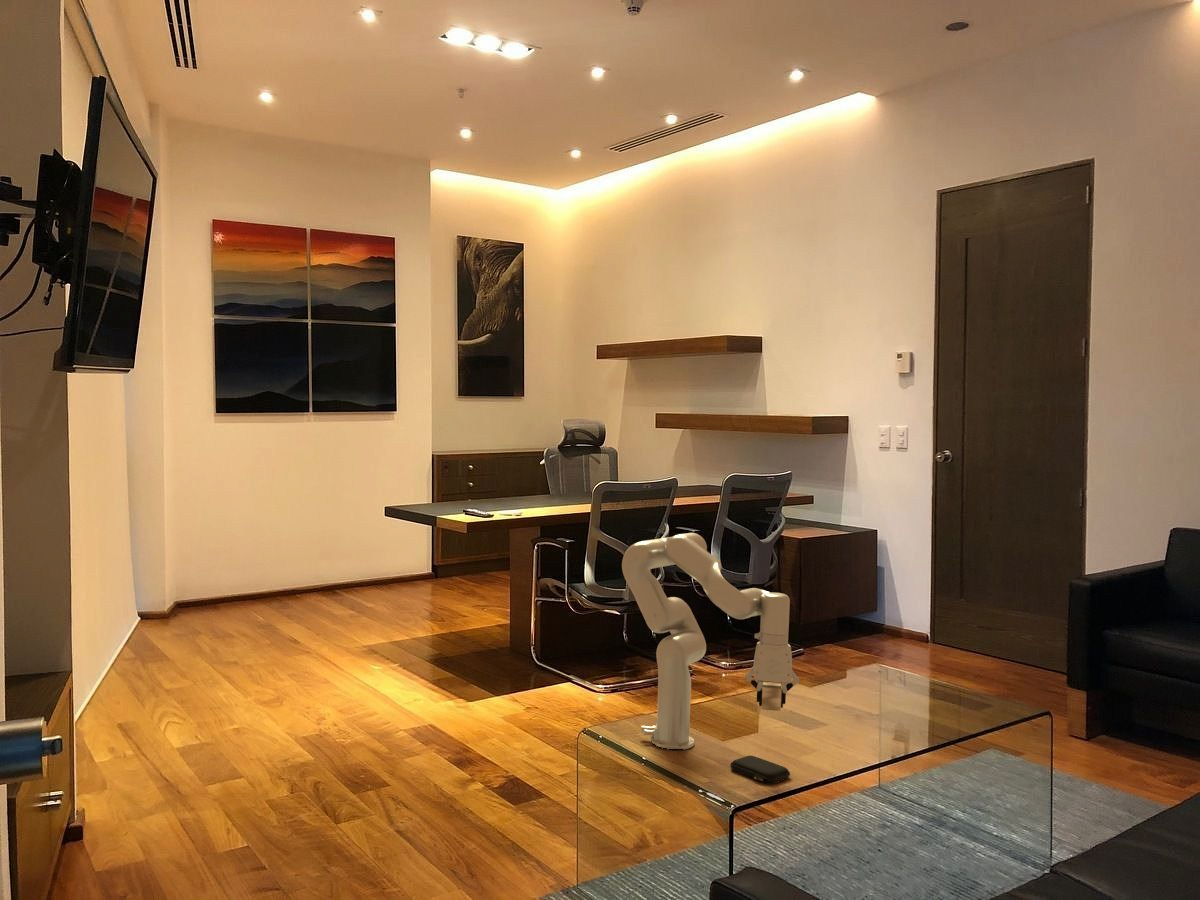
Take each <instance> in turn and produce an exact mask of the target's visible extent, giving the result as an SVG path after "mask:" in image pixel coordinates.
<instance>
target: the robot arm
mask: <svg viewBox="0 0 1200 900" xmlns="http://www.w3.org/2000/svg"><path fill="white" fill-rule="evenodd" d="M706 542H707V541H705V539H704V537H703V536H701V535H699V534H698V533H695V532H688V533H678V534H675V535H673V536H669V537H663V538H654V539H647V540H646V539H645V540H641V541H638V542H635V543H633V544H631V545H630V546H629V547H628V548H627V549H626V551H625V552H624V554H623V557H622V561H621V570H622V574H623V577H624V580H625V582H626V583H627V586H628V587H629V589H630V590H631V592H632V594H633V596H634V599H635V601H636V603H637V604H636V605H638V608H639V610H640V612H641V614H642V616H643V619H644V620H645V623H646V625H647V627H648V628H649V629H650V630H651V631H652V632H653V633H655V634H664V633H668V632H669V633H670V635H667V636H666V637H664V638H662V639H661V640H660V642H659V643H658V645H657V648H656V652H655V653H656V656H655V657H656V663H657V671H658V673H657V675H658V676H657V677H658V680H657V681H658V683H657V711H656V713H657V714H656V724H655V725H652V726H648V725H641V730H640V731H641V732H640V733H644V735H647V736H650V742H651V741H652V742H653V743H654V744H656V745H658V746H660V747H663V748H667V749H666V750H669V749H683V750H688V749H691V748H692V747H693V746H694V745H695V739H694V738H693V737H692V736H690V722H691V721H690V720H691V701H692V700H691V699H692V697H691V696H692V679H691V674H690V669H689V665H691V664H694V663H696V662H699V661H701V660H702V659H703V657H704V656H705V654H706V652H707V643H706V639H705V636H704V634H703V632H702V630H701V628H700V626H699V624H698V622H697V619H696V618H695V615H694V614H693V612H692V609H691V608H690V606H689V604H688V603H687V602H685V600H683V599H682V598H680V597H676V596H670V597H667V595H666V593H665V592H664V589H663V587H662V585H661V583H660V582H659V580H658V579H657V577H655V576H654V574H653V573H652V572H651V570H652V569H658V568H663V567H664V568H665V567H668V566H669V567H670V566H674V565H676V566H677V567H678V568H679V569H681V570H682V571H684V572H685V573H686V574H687V575H689V576H690V577H691V578H692V579H694V580H695V581H696V582H698V583H699V584H700V585H701V586H702V589H703V591H704V592H705V594H706V596H707V598H709V600H710V601H711V602H712V603H713V604H714V605H715V606H716V607H718V608H719V609H720V610H722V611H723V612H724V613H725V614H727V615H728V616H730V617H732V618H734V619H736V620H745V619H749V618H751V617H757V616H760V626H759V627H760V628H759V629H760V630H759V632H757V633H754V639H757V640H758V642H756V646H755V650H754V651H755V652H754V657H753V666H751V668H750V669H749V670H748V671H747V672H746V673H745V674H744V678H745V680H746V681H748V682H749V683H750V684H751V685H752V686H753V688H754V689H755V690H756V702H757V703H758V706H759V707H761V706H762V685H763V683H776V684H781V688H782V692H781V709H783V708H784V705H786V701H787V700H786V698H787V693H788V692H789V691H790V690H791V689H792V688H793V687H794V686H796V685H798V684H799V683H800V679H799V677H798V675H796V673H795V671H794V670H793V655H792V647H791V645H790V644H789V628H790V627H789V625H790V604H791V602H790V601H791V599H790V597H789V596H788V595H787V594H786V593H781V592H772V591H771V592H770V591H767V590H765V589H761V588H757V587H752V588H751V587H750V588H745V589H741V590H739V589H737V587H735V586H733V585H732V584H731V583H729V581H727V580H726V579H725V577H723V575H722V573H721V570H722V562H721V561H720V559H719V558H716V557H715V556H714V555H713V554H711V553H710V552H709V551H708V550H707V549H708V546H707V543H706ZM663 748H662V749H663Z"/></svg>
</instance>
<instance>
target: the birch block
mask: <svg viewBox="0 0 1200 900" xmlns="http://www.w3.org/2000/svg"><path fill="white" fill-rule="evenodd" d="M781 692H782V686H781V683H773V682H763V685H762V706H760V707H761V710H764V711H765V710H766V711H774V712H775V711H776V712H781V709H782V708H781Z"/></svg>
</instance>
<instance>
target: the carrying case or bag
mask: <svg viewBox="0 0 1200 900" xmlns="http://www.w3.org/2000/svg"><path fill="white" fill-rule="evenodd" d="M729 767H730V769H732V771H733V772H736V773H738V774H740V775H743V776H745V777H749V778H750V777H751V778H750V779H753V780H755V781H758V780H759V781H758V782H762V783H764V784H768V785H772V784H776V783H779V782H781V780H782V781H784V780H786V778H787V779H788V778H789V777H790V776H791V773H790V771H789V769H788V768H787V767H785V766H783V765H780V764H778V763H774V762H772V761H770V760H766V759H764V758H762V757H757V756H754V755H746V756H742V757H740V758H736V759H734V760H733V761H732V762H731V763H730V765H729ZM783 779H784V780H783ZM778 781H779V782H778Z"/></svg>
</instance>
